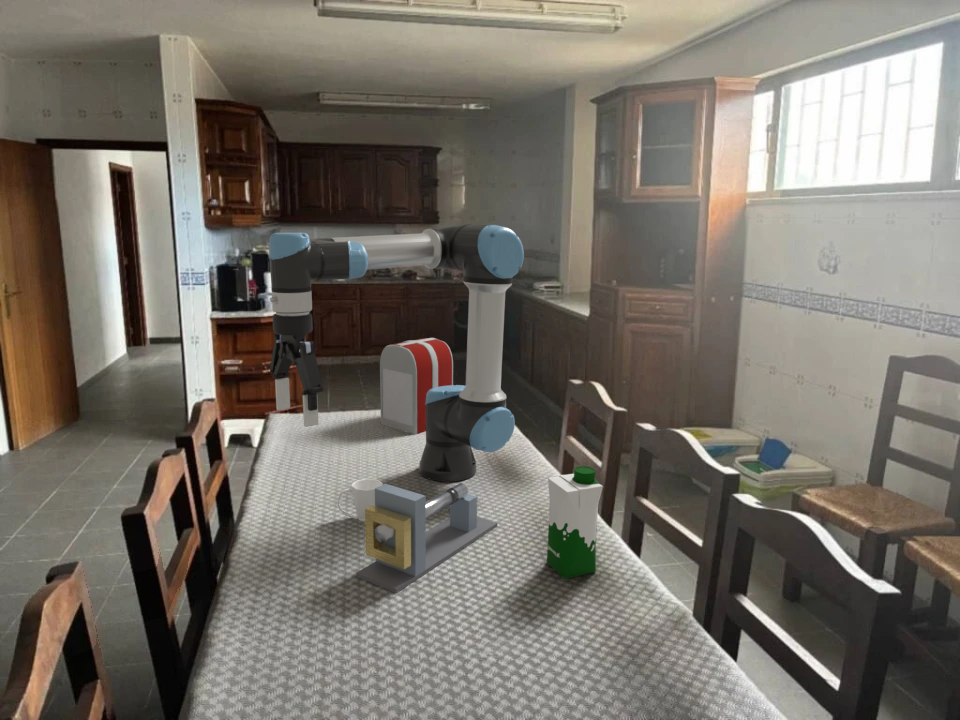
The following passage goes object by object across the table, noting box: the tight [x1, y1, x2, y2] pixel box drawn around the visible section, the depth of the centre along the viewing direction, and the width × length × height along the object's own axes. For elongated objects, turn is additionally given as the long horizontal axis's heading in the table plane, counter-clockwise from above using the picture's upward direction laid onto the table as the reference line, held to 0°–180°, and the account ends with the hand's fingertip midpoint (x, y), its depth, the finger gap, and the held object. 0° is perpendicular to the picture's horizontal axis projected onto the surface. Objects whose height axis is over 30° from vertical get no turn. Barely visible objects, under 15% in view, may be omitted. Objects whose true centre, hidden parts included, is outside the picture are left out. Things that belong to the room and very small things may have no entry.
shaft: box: [375, 482, 469, 542], centre depth 141 cm, size 26×3×3 cm, turn 146°
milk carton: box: [546, 465, 604, 580], centre depth 137 cm, size 9×9×20 cm
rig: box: [355, 483, 498, 594], centre depth 143 cm, size 34×10×16 cm, turn 146°
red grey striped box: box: [379, 337, 454, 435], centre depth 226 cm, size 17×18×27 cm
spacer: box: [364, 505, 411, 569], centre depth 132 cm, size 2×10×10 cm, turn 56°
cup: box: [337, 478, 383, 522], centre depth 158 cm, size 7×10×8 cm
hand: (296, 417), depth 143 cm, fingers open, 13 cm apart
